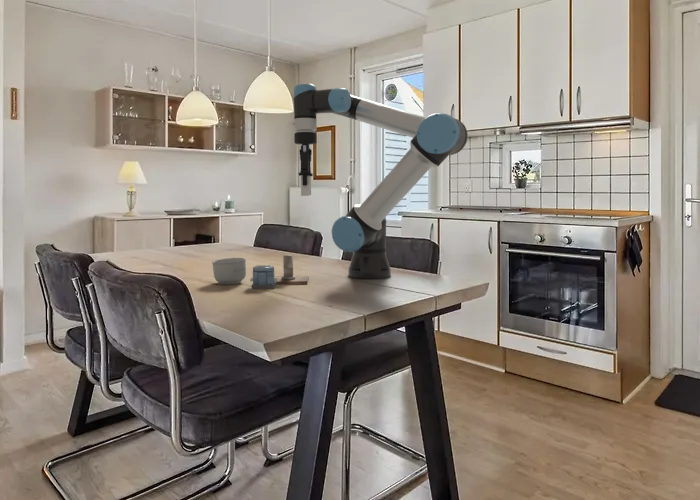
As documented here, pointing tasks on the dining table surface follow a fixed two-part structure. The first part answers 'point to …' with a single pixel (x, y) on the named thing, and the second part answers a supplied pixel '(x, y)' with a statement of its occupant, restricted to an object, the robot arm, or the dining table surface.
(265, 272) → the cap
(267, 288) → the coaster
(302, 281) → the post board
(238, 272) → the teacup
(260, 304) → the dining table surface
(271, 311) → the dining table surface
